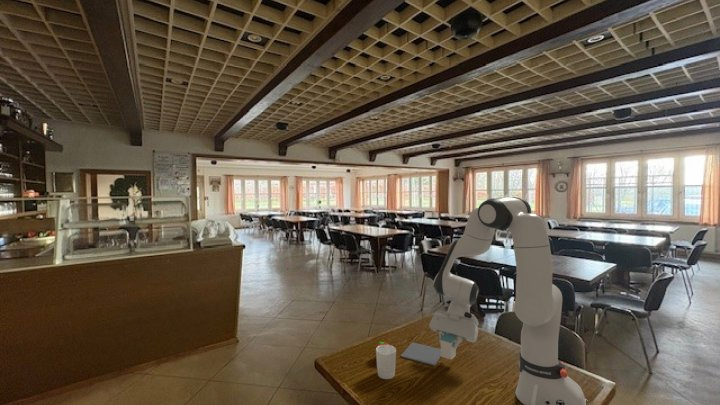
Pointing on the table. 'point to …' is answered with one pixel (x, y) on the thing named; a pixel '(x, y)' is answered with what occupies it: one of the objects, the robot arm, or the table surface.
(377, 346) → the clementine
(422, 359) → the slate tile
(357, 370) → the table surface
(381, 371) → the white cup
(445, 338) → the block
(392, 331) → the table surface
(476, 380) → the table surface
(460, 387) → the table surface
